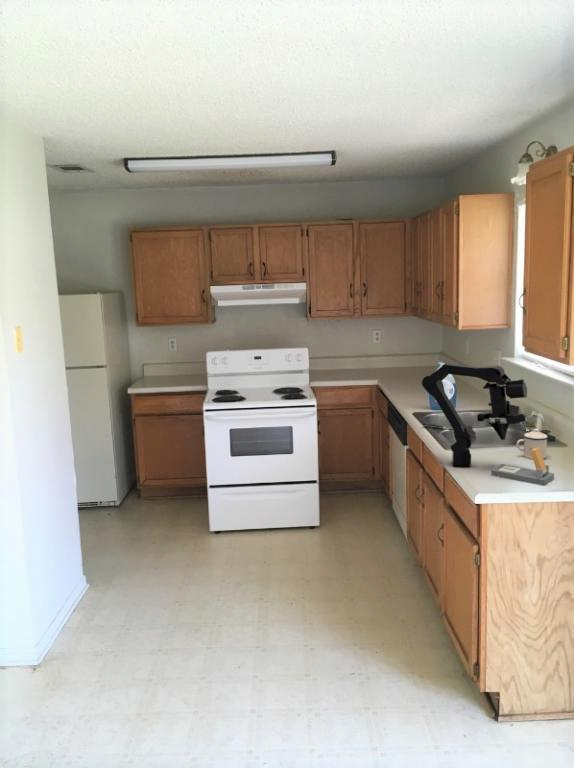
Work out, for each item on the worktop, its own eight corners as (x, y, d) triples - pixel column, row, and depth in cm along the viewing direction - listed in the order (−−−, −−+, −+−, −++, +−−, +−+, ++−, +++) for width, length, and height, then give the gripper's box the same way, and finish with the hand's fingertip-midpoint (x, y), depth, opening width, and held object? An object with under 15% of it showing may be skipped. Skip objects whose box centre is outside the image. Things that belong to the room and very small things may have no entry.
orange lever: (538, 476, 227) (529, 451, 227) (542, 473, 230) (534, 448, 231) (544, 475, 225) (535, 450, 226) (548, 472, 228) (539, 447, 229)
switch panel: (491, 475, 235) (491, 461, 235) (501, 468, 243) (502, 455, 242) (544, 485, 223) (545, 471, 222) (553, 478, 230) (554, 465, 229)
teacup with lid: (542, 453, 262) (544, 426, 260) (549, 460, 253) (551, 432, 251) (513, 453, 264) (514, 426, 262) (518, 459, 255) (520, 431, 253)
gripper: (533, 396, 232) (537, 437, 234) (494, 395, 249) (499, 433, 250) (511, 401, 227) (517, 443, 229) (474, 400, 244) (479, 439, 245)
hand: (503, 439), depth 238 cm, fingers closed
